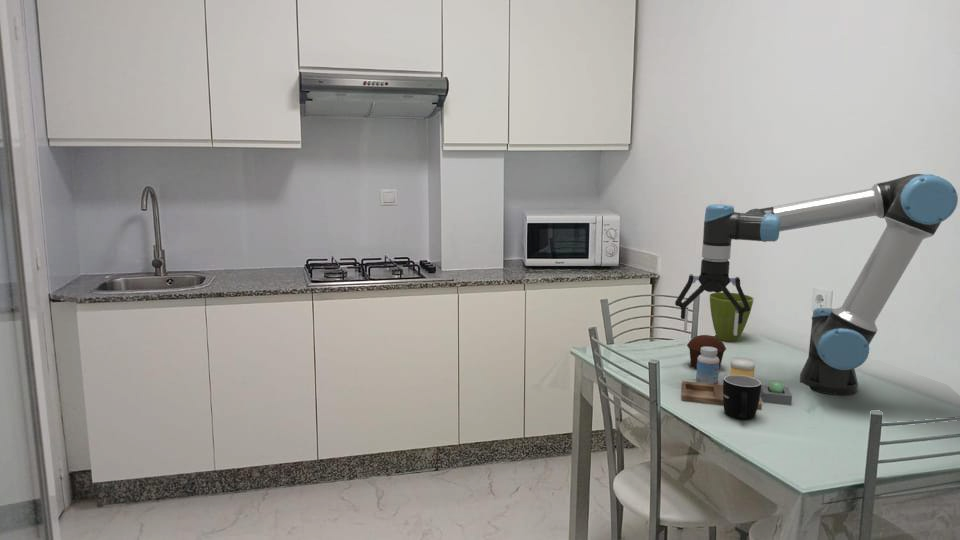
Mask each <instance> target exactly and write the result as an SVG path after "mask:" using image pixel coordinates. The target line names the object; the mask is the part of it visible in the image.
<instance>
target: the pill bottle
mask: <svg viewBox="0 0 960 540" xmlns="http://www.w3.org/2000/svg"><path fill="white" fill-rule="evenodd" d="M717 351H718V350H717V349H716V348H714V347H701V351H700V352H701V355H699V356H698V359H697V369H696V373H695V374H696V375H695V376H696V377H695V382H697V383H707V384H716V385H719V374H720V373H719V371H720V369H719V358H718V357H717V356H716V355H717Z"/></svg>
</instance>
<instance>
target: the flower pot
mask: <svg viewBox="0 0 960 540" xmlns="http://www.w3.org/2000/svg"><path fill="white" fill-rule="evenodd" d="M730 293H731V294H732V296H733V297H734V298H735V299H736V301H737V302H738V303H739V304H740V306H741V307H744V304H743V302H742V300H741V298H740V295H739V293H738V292H730ZM744 295H745V298H746V300H747V302H748V304H749V307H750V311H746V312H744V313H743V320H742V324H738V330H737V336H735V335H734V321H735V311H738V310H737V309H736V307H735V306H734V305H733V304H732V302H731V301H730V300H729V299H728V297H727V296H726V295H725V294H724V293H723V291H721V292H719V293H716V292H711V293H710V294H709V305H710V306H709V307H710V315H711V319H712V325H713V329H714V333H715V337H716V338H718V339H719V340H720V341H722V342H726V343H727V342H728V343H733V342H734V343H736V342H738V341H739V340H740V338H741V336H742V334H743V332H744V331H745V328H746V325H747V323H748V320H749V317H750V314H751V311H752V307H753V303H754V298H753V297H752V296H751V295H748V294H744Z"/></svg>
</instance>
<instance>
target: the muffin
mask: <svg viewBox="0 0 960 540" xmlns="http://www.w3.org/2000/svg"><path fill="white" fill-rule="evenodd" d="M723 342H724V341H722V340H719V339H718V338H717V337H716V336H713V335H708V334H700V335H696V336H694V337H693V338H691V339H690V341H688V343H687V345H686V347H687V348H688V349H689V357H690V358H689V359H690V366H691V368H693V369H695V370H697V359H698V356H699V355H701V352H700V351H701V347H714V348H716V349H717V350H718V351H717V355H716V356H717V357H718V358H719V370H720V369H721V366H722V360H723V357H724V353H725V351H726V350H727V347H726V344H724V343H723Z"/></svg>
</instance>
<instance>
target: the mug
mask: <svg viewBox="0 0 960 540" xmlns="http://www.w3.org/2000/svg"><path fill="white" fill-rule="evenodd" d="M722 385H723V404H724V406H723V410H724V414H725V415H726V416H727V417H729V418H731V419H733V420H734V419H735V420H741V421H750V420H753V419H755V416H756V415H757V412H758V410H757V408H758V404H759V398H760V399H761V395H760V392H761V385H762V381H760V380H759V379H757V377H756V378H755V377H754V378H753V377H750V376H745V375H730V374H728V375H725V376H724V377H723V381H722Z"/></svg>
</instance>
